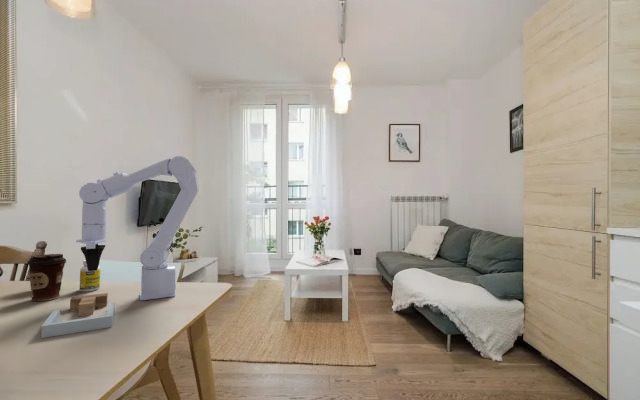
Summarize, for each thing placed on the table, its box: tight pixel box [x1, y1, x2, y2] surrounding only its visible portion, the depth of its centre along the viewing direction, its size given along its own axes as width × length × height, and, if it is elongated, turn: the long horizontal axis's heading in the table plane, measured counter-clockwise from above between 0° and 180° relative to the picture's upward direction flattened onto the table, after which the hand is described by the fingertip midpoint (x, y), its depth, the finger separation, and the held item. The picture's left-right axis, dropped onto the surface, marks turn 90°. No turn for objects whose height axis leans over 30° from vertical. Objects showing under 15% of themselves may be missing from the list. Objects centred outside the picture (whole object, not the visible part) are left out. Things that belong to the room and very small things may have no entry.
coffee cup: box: [26, 253, 67, 302], centre depth 93 cm, size 9×8×13 cm
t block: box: [69, 292, 109, 317], centre depth 83 cm, size 9×8×3 cm
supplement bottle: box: [79, 259, 101, 292], centre depth 103 cm, size 5×5×10 cm
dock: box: [41, 302, 116, 339], centre depth 74 cm, size 11×12×2 cm
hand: (92, 270), depth 92 cm, fingers closed
